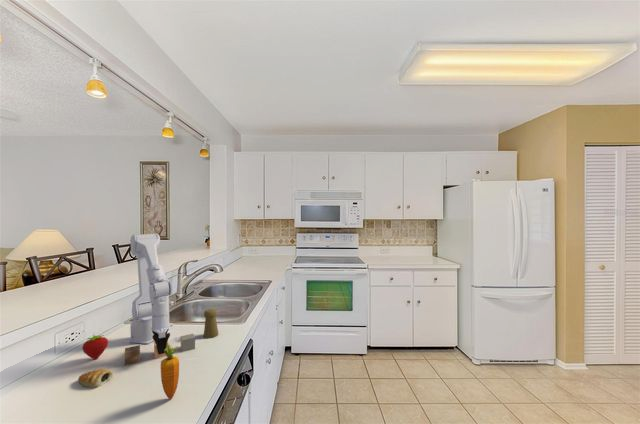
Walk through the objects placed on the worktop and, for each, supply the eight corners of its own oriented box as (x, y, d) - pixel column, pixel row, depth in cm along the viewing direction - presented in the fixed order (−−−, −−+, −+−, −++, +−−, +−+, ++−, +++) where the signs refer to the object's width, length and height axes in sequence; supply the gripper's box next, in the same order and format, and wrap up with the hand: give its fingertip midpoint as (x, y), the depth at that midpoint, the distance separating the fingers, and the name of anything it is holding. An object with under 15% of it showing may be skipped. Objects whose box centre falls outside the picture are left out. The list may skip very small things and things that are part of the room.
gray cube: (182, 352, 111) (182, 340, 111) (180, 347, 115) (180, 336, 115) (195, 349, 114) (194, 337, 114) (193, 344, 118) (193, 333, 118)
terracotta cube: (154, 358, 107) (154, 346, 107) (154, 353, 111) (154, 341, 111) (168, 355, 109) (168, 343, 109) (167, 350, 113) (167, 338, 113)
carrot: (165, 394, 85) (164, 342, 85) (183, 392, 86) (182, 341, 86) (157, 405, 80) (156, 350, 80) (176, 404, 81) (175, 348, 81)
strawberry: (108, 359, 107) (108, 331, 107) (81, 366, 102) (81, 337, 102) (108, 353, 112) (108, 326, 112) (83, 359, 107) (82, 331, 107)
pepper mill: (220, 332, 129) (220, 307, 129) (214, 338, 123) (214, 312, 123) (207, 332, 130) (207, 307, 130) (200, 338, 124) (200, 311, 124)
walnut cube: (124, 366, 102) (124, 353, 102) (125, 360, 106) (125, 348, 106) (140, 362, 104) (139, 349, 104) (140, 357, 108) (139, 345, 108)
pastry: (71, 387, 90) (70, 374, 90) (91, 375, 97) (91, 363, 97) (97, 389, 89) (96, 377, 89) (116, 377, 95) (116, 365, 95)
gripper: (174, 317, 106) (175, 355, 106) (170, 306, 118) (171, 340, 118) (151, 321, 102) (152, 361, 102) (150, 310, 114) (151, 345, 114)
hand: (161, 350), depth 110 cm, fingers closed on terracotta cube, 4 cm apart
